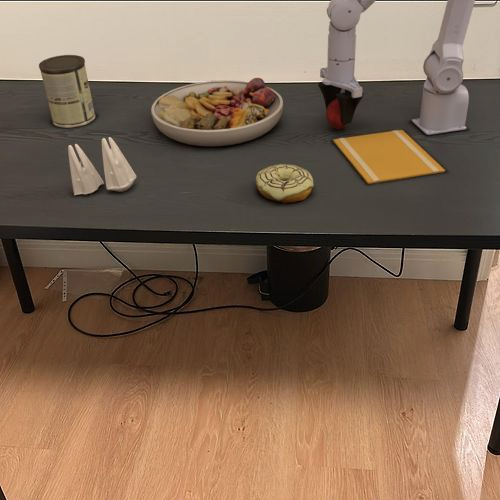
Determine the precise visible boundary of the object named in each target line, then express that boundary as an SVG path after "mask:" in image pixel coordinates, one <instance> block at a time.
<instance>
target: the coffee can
mask: <svg viewBox="0 0 500 500" xmlns="http://www.w3.org/2000/svg"><path fill="white" fill-rule="evenodd" d="M38 69H39V70H40V75H41V79H42V83H43V86H44V92H45V95H46V100H47V103H48V107H49V112H50V116H51V120H52V124H53V125H54V126H56V127H58V128H64V129H69V128H70V129H71V128H78V127H83V126H85V125H88V124H90V123H92V122H93V121H94V120H95V119H96V112H95V107H94V103H93V98H92V93H91V88H90V83H89V78H88V73H87V68H86V60H85V58H84V57H83V56H81V55H78V54H62V55H55V56H51V57H48V58H45V59H43V60H42V61H41V62H40V63H38Z"/></svg>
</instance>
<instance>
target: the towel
mask: <svg viewBox="0 0 500 500" xmlns="http://www.w3.org/2000/svg"><path fill="white" fill-rule="evenodd" d="M332 142H333V143H334V145H336V146H337V148H338V149H339V150H340V152H341V153H342V154H343V156H344V157H345V158H346V159H347V160H348V162H349V163H350V164H351V165H352V167H353V168H354V169H355V170H356V172H357V173H358V174H359V175H360V176H361V178H362V179H363V180H364V181H365V182H366V184H367V185H371V184H377V183H382V182H390V181H397V180H404V179H409V178H417V177H421V176H422V177H423V176H427V175H434V174H441V173H445V172H446V169H445V168H444V167H442V166H441V165H440V164H439V163H438V162H437V161H436V160H435V159H434V158H433V157H432V156H431V155H430V154H429V153H428V152H427V151H425V150H424V149H423V148H422V147H421V146H420V145H419V144H418V143H417V142H416V141H415V140H414V139H412V138H411V137H410V136H409V134H408V133H406V132H405V131H404V129H395V130H390V131H383V132H375V133H369V134H362V135H355V136H348V137H339V138H335V139H334V138H333V139H332Z"/></svg>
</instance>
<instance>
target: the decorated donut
mask: <svg viewBox="0 0 500 500" xmlns="http://www.w3.org/2000/svg"><path fill="white" fill-rule="evenodd" d="M255 177H256V178H255V184H256V187H257V191H258V192H259V193H260V194H261V195H262V196H263V197H264V198H265V199H268V200H270V201H276V202H280V203H281V202H282V203H283V204H288V203H296V202H301V201H305V199H307V197H309V195H310V194H311V193H312V190H313V188H314V186H315V185H314V178H313V176H312V174H311V173H310V172H309V171H308V170H307V169H306V168H303V167H301V166H298V165H294V164H288V163H284V164H283V163H280V164H273V165H270V166H267V167H266V168H263V169H262V170H259V171H258V173H257V174H256V176H255Z"/></svg>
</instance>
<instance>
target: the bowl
mask: <svg viewBox="0 0 500 500" xmlns="http://www.w3.org/2000/svg"><path fill="white" fill-rule="evenodd" d="M265 82H266V81H264V79H263V78H261V77H253V78H252V79H251V80H249V81H243V80H230V79H229V80H227V79H225V80H223V79H222V80H209V81H201V82H196V83H190V84H187V85H183V86H182V85H181V86H180V87H176V88H174V89H171V90H169V91H167V92H165V93H163V94H162V95H161V96H158V97H157V98H156V100H154V102H153V103H152V105H151V108H150V109H151V110H150V111H151V117H152V120H153V123H154V124H155V126H156V128H157V129H158V130H159V132H161V133H162V134H163V135H165V137H168V138H170V139H171V140H173V141H177V142H179V143H182V144H184V145H185V144H186V145H190V146H198V147H225V146H233V145H237V144H243V143H247V142H249V141H252V140H255V139H257V138H259V137H262V136H263V135H265V134H267V133H269V132H270V131H272V129H274V127H275V126H276V125H277V124H278V123H279V121H280V120H281V117H282V115H283V109H284V100H283V97H282V95H281V94H280V93H279V92H278V91H276V90H274V89H273V88H271V87H268V86H267V85H266V83H265Z"/></svg>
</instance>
